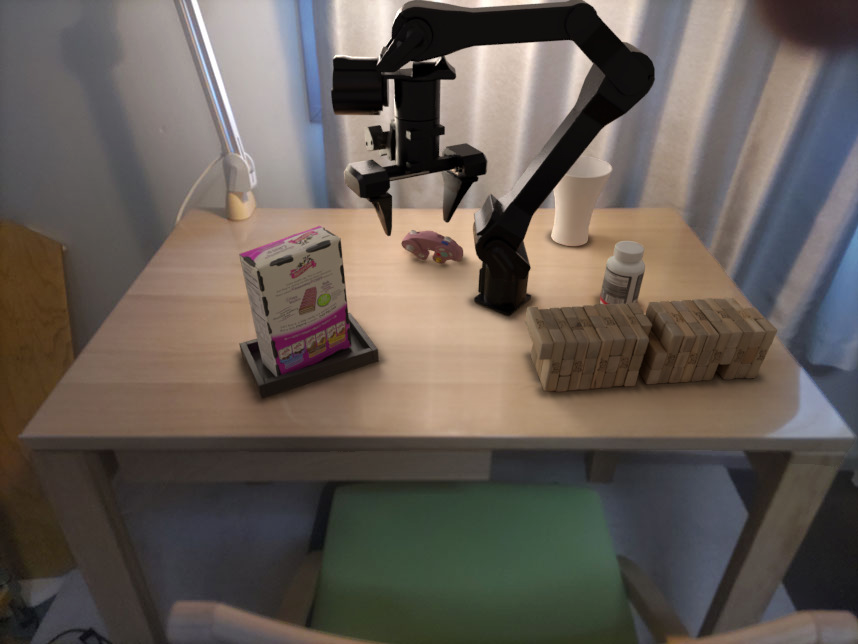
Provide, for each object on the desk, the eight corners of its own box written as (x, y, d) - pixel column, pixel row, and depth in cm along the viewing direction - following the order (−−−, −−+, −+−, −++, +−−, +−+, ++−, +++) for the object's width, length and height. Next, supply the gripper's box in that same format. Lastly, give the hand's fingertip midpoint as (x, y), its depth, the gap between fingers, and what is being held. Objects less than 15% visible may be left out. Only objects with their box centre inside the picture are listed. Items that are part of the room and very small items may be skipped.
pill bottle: (621, 292, 93) (634, 235, 88) (643, 310, 89) (658, 252, 84) (591, 298, 92) (602, 241, 86) (612, 317, 88) (625, 258, 82)
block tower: (724, 347, 83) (518, 355, 80) (744, 296, 79) (526, 301, 75) (755, 384, 77) (532, 394, 74) (779, 331, 72) (542, 338, 69)
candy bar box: (331, 330, 84) (320, 223, 74) (352, 347, 81) (343, 237, 71) (259, 364, 78) (236, 251, 68) (278, 383, 75) (258, 268, 65)
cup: (530, 242, 107) (539, 169, 99) (553, 220, 114) (562, 150, 107) (587, 257, 102) (600, 182, 95) (607, 234, 110) (621, 162, 102)
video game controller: (403, 264, 103) (395, 239, 97) (413, 243, 105) (405, 217, 99) (458, 275, 100) (452, 250, 94) (466, 254, 102) (461, 228, 96)
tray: (351, 323, 86) (350, 312, 85) (378, 361, 79) (378, 349, 78) (241, 355, 80) (239, 343, 79) (261, 398, 73) (258, 386, 72)
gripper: (449, 91, 85) (447, 195, 94) (324, 108, 78) (334, 219, 87) (493, 111, 77) (485, 223, 86) (357, 132, 70) (365, 252, 79)
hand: (417, 228), depth 84 cm, fingers open, 9 cm apart
